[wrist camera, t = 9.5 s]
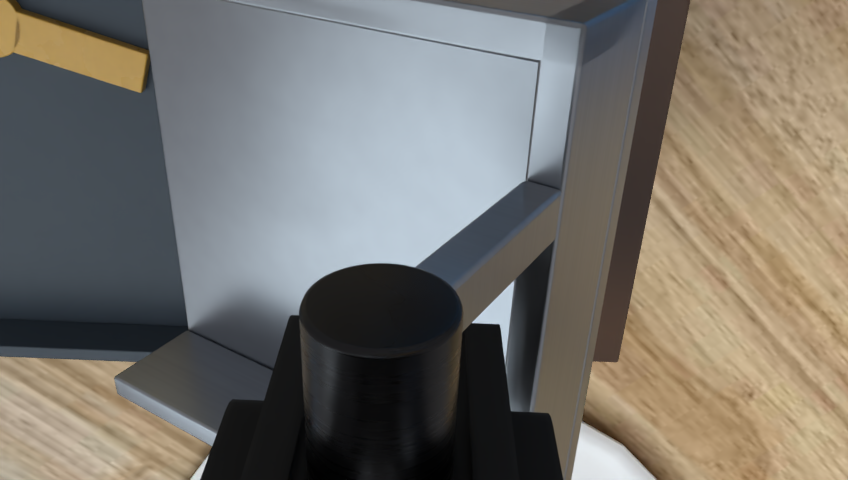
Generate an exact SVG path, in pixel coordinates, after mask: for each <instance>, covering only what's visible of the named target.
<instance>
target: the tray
mask: <svg viewBox="0 0 848 480" xmlns="http://www.w3.org/2000/svg"><path fill="white" fill-rule="evenodd" d="M16 1H17V2H18V3H19V5H20V6H21V8H22V9H24V10H28V11H31V12H34V13H37V14H40V15H43V16H46V17H49V18H52V19H55V20H58V21H61V22H64V23H67V24H70V25H73V26H76V27H79V28H82V29H85V30H88V31H91V32H94V33H98V34H101V35H104V36H107V37H110V38H113V39H116V40H119V41H122V42H125V43H128V44H131V45H134V46H137V47H140V48H143V49H146V50H149V47H148V40H147V33H146V26H145V19H144V11H143V4H142V0H16ZM185 331H189V329H188V322H187V315H186V308H185V301H184V294H183V287H182V280H181V272H180V265H179V258H178V251H177V244H176V237H175V230H174V223H173V216H172V209H171V202H170V195H169V188H168V181H167V174H166V167H165V160H164V153H163V146H162V138H161V131H160V124H159V117H158V110H157V103H156V96H155V89H154V82H153V75H152V68H151V61H150V65H149V71H148V77H147V83H146V89H145V90H144V91H143V92H142V93H139V92H136V91H133V90H129V89H126V88H123V87H120V86H117V85H114V84H111V83H108V82H104V81H101V80H98V79H95V78H92V77H89V76H86V75H83V74H79V73H76V72H73V71H70V70H67V69H64V68H61V67H58V66H54V65H51V64H48V63H45V62H42V61H39V60H36V59H33V58H29V57H26V56H23V55H20V54H17V53H12V54H10V55H8V56H6V57H1V58H0V356H4V357H29V358H54V359H79V360H104V361H129V362H138V361H140V360H141V359H143V358H145V357H146V356H148V355H149V354H151V353H152V352H154V351H155V350H157V349H159V348H160V347H162V346H163V345H165V344H166V343H168V342H170V341H171V340H173V339H174V338H176V337H177V336H179V335H180V334H182V333H184V332H185Z"/></svg>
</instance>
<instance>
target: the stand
mask: <svg viewBox="0 0 848 480" xmlns="http://www.w3.org/2000/svg"><path fill="white" fill-rule="evenodd" d="M689 4H690V0H657V6H656V12H655V17H654V23H653V28H652V34H651V39H650V45H649V50H648V56H647V62H646V67H645V73H644V78H643V84H642V89H641V95H640V100H639V106H638V112H637V117H636V123H635V128H634V134H633V139H632V145H631V150H630V156H629V162H628V167H627V173H626V178H625V184H624V189H623V195H622V200H621V206H620V212H619V217H618V223H617V228H616V234H615V239H614V245H613V250H612V256H611V262H610V267H609V273H608V278H607V284H606V289H605V295H604V300H603V306H602V312H601V317H600V323H599V328H598V334H597V339H596V345H595V350H594V356H593V361H598V362H618V359H619V354H620V349H621V344H622V339H623V334H624V329H625V324H626V319H627V314H628V309H629V304H630V299H631V294H632V289H633V284H634V279H635V274H636V269H637V264H638V259H639V254H640V249H641V244H642V239H643V234H644V229H645V224H646V219H647V214H648V209H649V204H650V199H651V194H652V189H653V184H654V179H655V174H656V169H657V164H658V159H659V154H660V149H661V144H662V139H663V134H664V129H665V124H666V119H667V114H668V109H669V104H670V99H671V94H672V89H673V84H674V79H675V74H676V69H677V64H678V59H679V54H680V49H681V44H682V39H683V34H684V29H685V24H686V19H687V14H688V9H689Z"/></svg>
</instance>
